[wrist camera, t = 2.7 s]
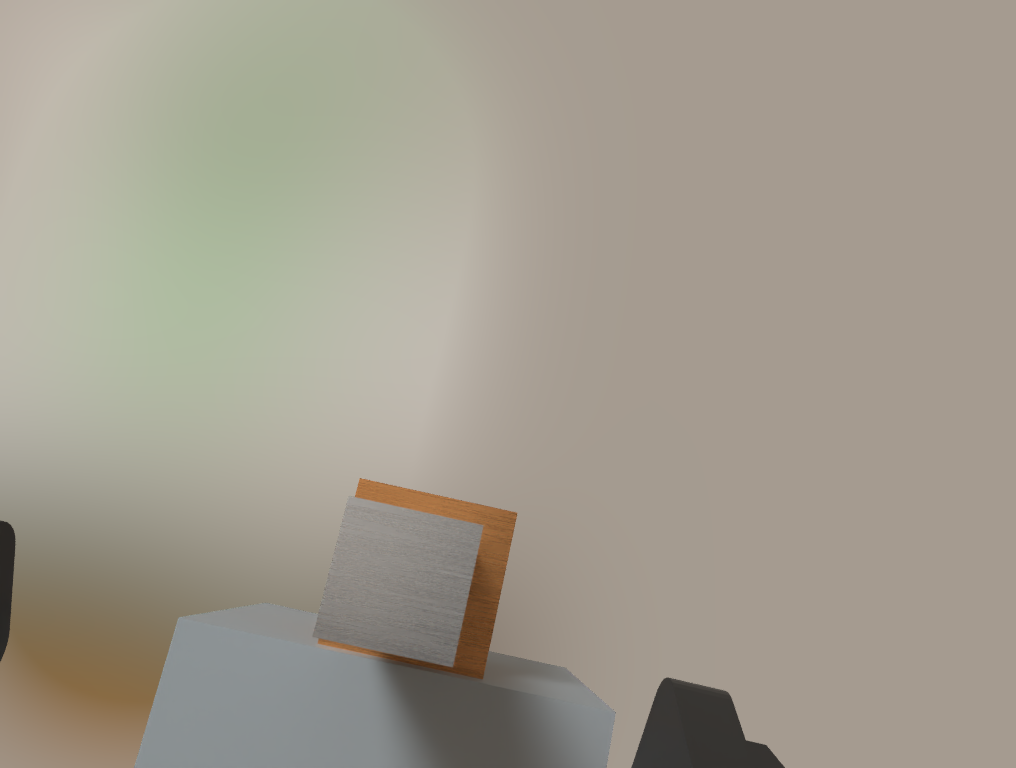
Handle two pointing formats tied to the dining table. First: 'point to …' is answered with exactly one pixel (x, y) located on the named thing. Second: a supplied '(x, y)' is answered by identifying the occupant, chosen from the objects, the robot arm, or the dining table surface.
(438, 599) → the pin
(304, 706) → the tall grey block
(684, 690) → the robot arm
